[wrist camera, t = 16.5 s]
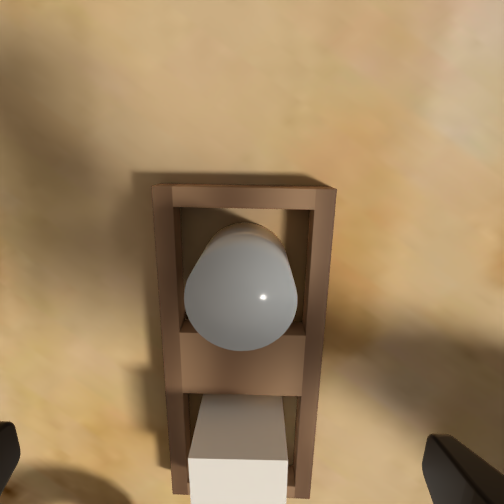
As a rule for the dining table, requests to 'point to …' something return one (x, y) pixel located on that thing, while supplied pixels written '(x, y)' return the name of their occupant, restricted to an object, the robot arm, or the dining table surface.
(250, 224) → the salt cellar
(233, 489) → the white rounded cube
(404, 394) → the dining table surface
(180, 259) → the walnut caddy
